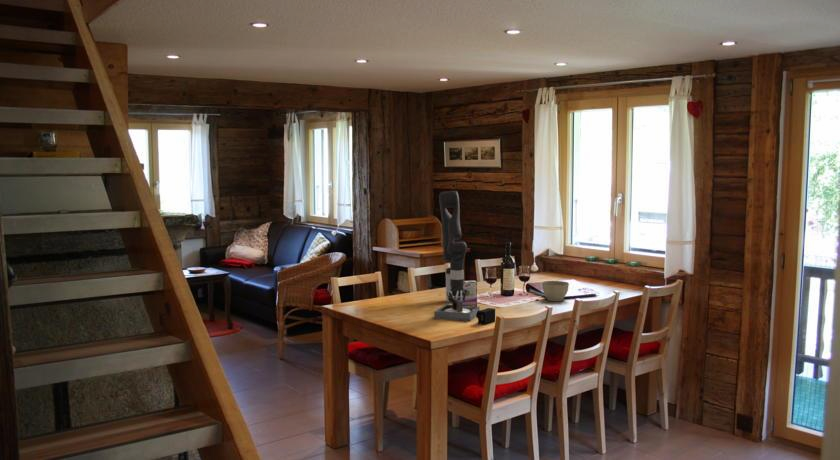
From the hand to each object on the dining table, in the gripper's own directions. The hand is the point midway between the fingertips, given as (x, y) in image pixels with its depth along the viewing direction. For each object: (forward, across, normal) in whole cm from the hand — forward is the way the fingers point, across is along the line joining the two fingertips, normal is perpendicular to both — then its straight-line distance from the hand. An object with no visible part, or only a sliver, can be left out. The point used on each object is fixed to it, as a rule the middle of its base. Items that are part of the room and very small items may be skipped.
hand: (456, 308), depth 383 cm
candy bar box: (+5, -16, -9) cm, 19 cm away
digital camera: (+4, -1, +22) cm, 22 cm away
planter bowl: (+5, -76, +7) cm, 76 cm away
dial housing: (+4, 0, 0) cm, 4 cm away
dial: (+2, 0, 0) cm, 2 cm away
